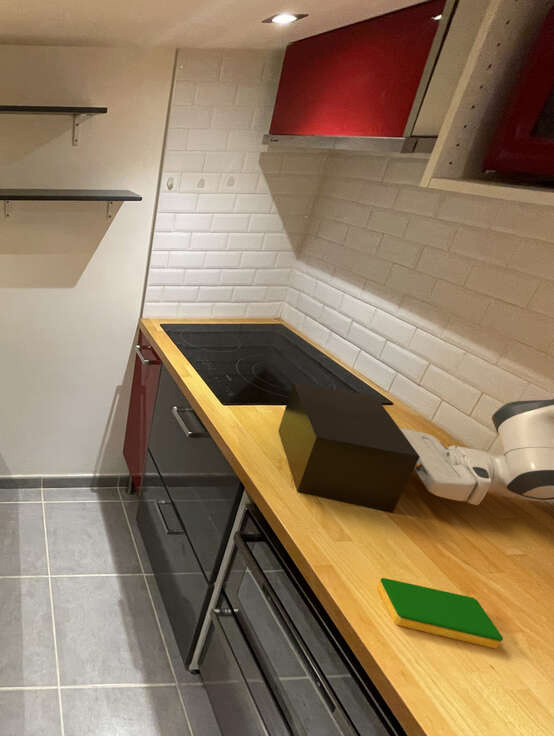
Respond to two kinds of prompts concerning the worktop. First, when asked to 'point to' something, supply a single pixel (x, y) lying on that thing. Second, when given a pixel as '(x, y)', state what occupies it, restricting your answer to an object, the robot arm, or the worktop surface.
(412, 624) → the dish sponge
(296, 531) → the worktop surface
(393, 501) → the black box
